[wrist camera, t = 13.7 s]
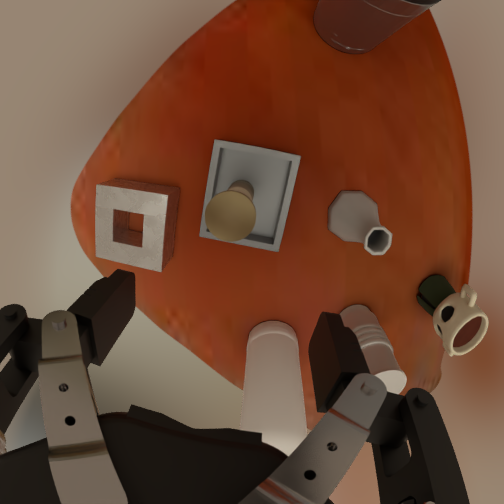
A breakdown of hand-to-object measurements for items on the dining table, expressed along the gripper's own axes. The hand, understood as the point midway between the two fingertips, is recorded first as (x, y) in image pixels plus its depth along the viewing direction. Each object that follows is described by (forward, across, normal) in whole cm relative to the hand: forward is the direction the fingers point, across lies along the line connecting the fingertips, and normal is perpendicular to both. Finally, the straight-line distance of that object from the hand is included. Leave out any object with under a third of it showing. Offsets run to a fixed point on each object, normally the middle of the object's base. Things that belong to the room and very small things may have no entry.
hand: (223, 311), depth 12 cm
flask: (+26, -14, 0) cm, 30 cm away
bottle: (+26, -8, +22) cm, 35 cm away
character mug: (+26, -32, +8) cm, 42 cm away
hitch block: (+26, +14, +6) cm, 31 cm away
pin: (+26, +1, 0) cm, 26 cm away
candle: (+26, -20, +16) cm, 37 cm away
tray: (+26, 0, 0) cm, 26 cm away
